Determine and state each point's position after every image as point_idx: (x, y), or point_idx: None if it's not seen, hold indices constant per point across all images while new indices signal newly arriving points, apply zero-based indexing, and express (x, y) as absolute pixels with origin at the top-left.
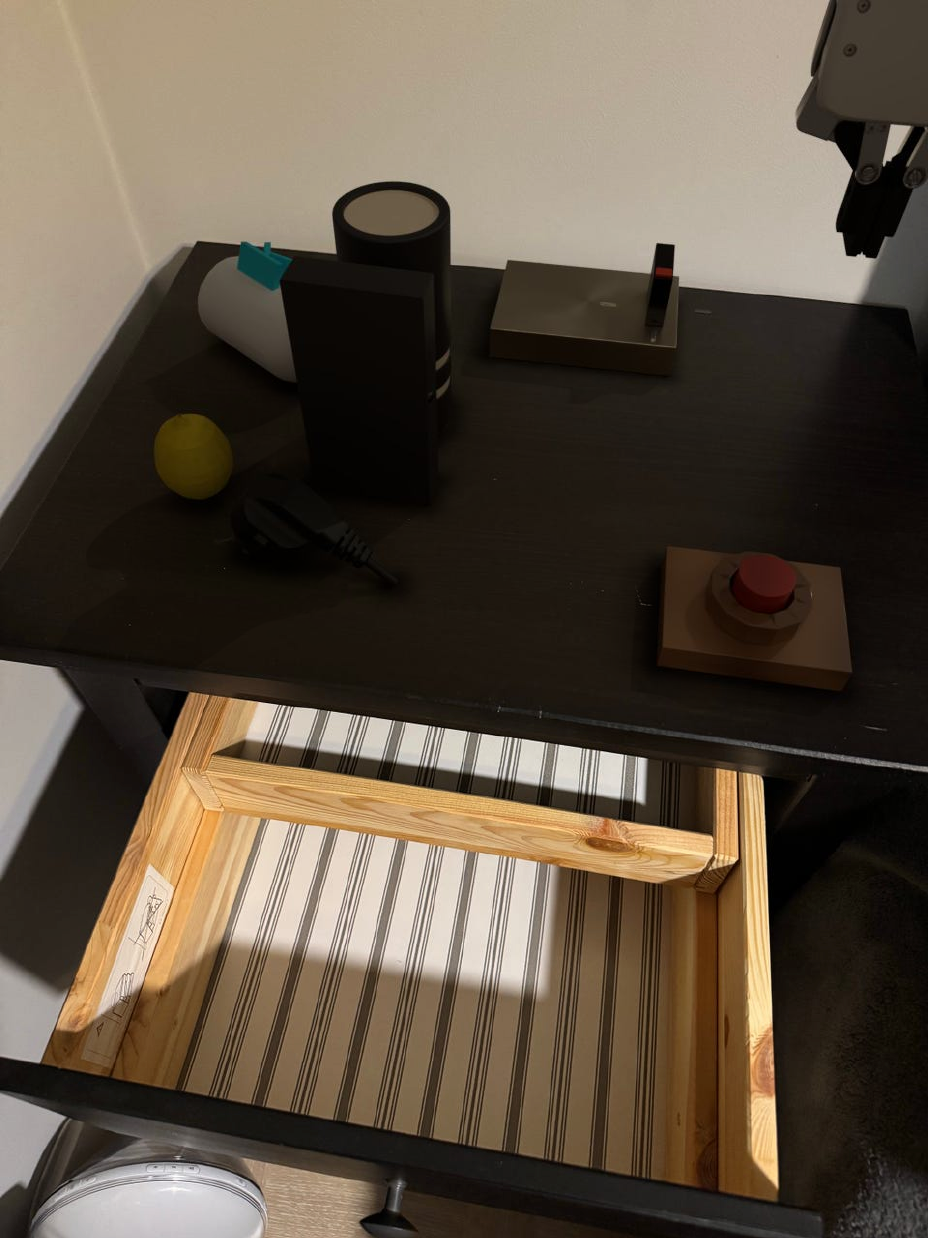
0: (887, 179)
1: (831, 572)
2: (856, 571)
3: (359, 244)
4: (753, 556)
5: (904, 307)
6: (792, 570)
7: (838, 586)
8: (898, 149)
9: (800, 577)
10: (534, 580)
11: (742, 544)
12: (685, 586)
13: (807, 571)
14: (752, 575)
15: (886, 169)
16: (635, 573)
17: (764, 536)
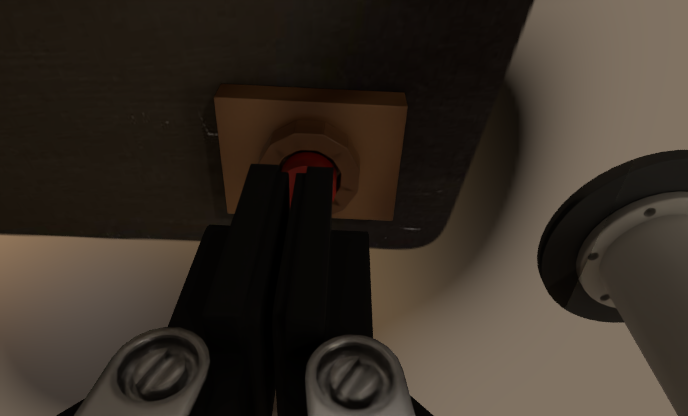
0: (281, 396)
1: (396, 114)
2: (439, 65)
3: None
4: (292, 170)
5: None
6: (333, 183)
7: (399, 133)
8: (307, 380)
9: (349, 162)
10: (95, 117)
11: (311, 38)
12: (240, 148)
13: (369, 117)
14: (291, 193)
15: (284, 347)
16: (195, 96)
17: (339, 21)
